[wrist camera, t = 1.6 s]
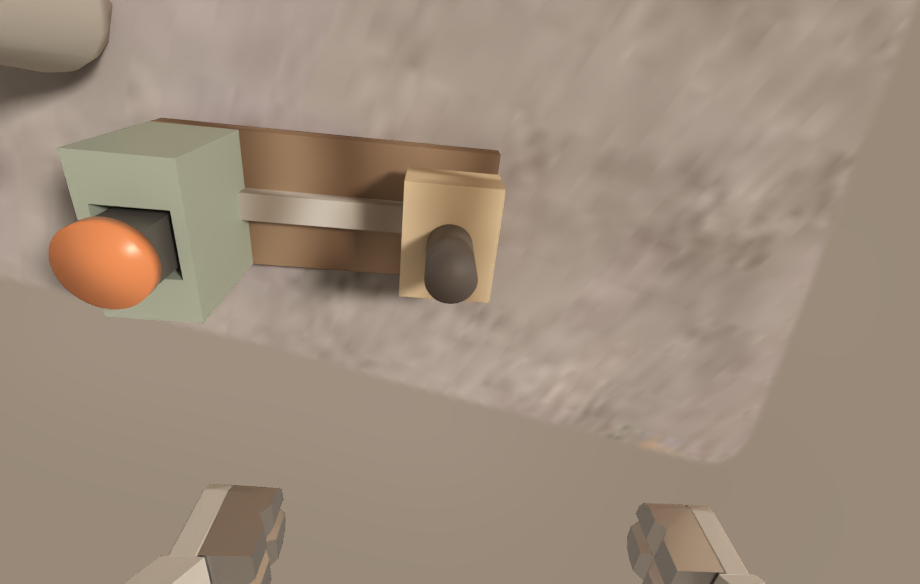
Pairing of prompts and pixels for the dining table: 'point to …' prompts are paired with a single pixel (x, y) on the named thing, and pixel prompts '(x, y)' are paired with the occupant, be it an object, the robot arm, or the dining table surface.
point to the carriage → (450, 234)
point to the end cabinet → (171, 206)
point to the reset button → (115, 256)
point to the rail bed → (333, 194)
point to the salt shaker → (53, 33)
